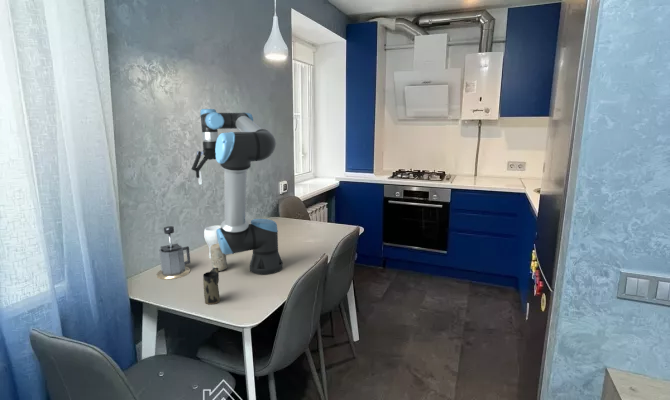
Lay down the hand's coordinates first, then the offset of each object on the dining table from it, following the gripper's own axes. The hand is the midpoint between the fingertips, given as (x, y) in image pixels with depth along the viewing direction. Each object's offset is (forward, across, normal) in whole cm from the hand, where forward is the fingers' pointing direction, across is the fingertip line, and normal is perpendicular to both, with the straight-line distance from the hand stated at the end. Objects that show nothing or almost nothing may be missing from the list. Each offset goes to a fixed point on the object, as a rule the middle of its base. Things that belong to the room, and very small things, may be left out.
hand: (213, 182), depth 187 cm
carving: (+37, +9, +25) cm, 46 cm away
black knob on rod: (+34, +27, +16) cm, 46 cm away
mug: (+37, +22, +53) cm, 68 cm away
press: (+37, +27, +16) cm, 48 cm away
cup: (+37, +4, +7) cm, 38 cm away
